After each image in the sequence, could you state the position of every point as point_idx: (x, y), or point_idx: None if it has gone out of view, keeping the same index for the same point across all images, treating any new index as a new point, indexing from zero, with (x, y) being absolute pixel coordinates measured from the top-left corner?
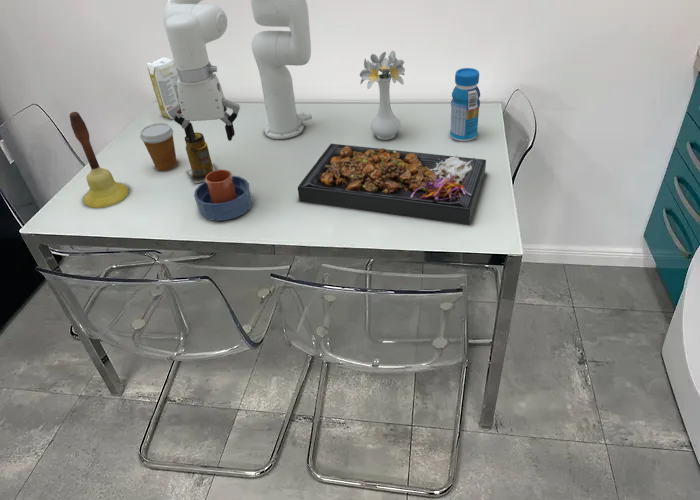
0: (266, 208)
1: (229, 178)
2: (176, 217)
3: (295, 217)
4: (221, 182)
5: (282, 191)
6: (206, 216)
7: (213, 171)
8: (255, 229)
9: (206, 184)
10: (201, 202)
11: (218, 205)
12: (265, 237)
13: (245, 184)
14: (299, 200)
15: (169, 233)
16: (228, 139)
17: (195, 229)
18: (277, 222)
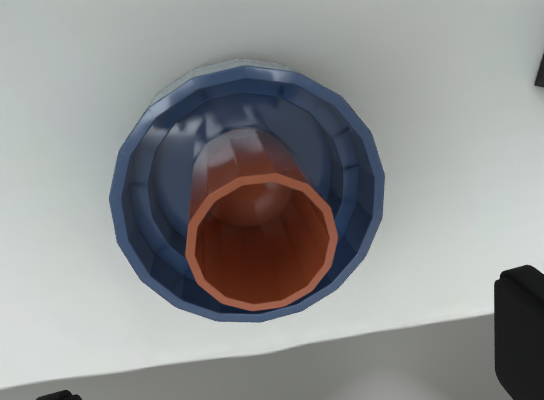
0: (412, 155)
1: (334, 250)
2: (72, 276)
3: (526, 190)
4: (305, 292)
5: (453, 16)
6: None
7: (207, 206)
8: (403, 277)
9: (132, 157)
10: (206, 316)
11: (288, 312)
12: (445, 305)
13: (339, 115)
14: (536, 85)
15: (111, 357)
16: (509, 385)
17: (194, 320)
18: (469, 228)
